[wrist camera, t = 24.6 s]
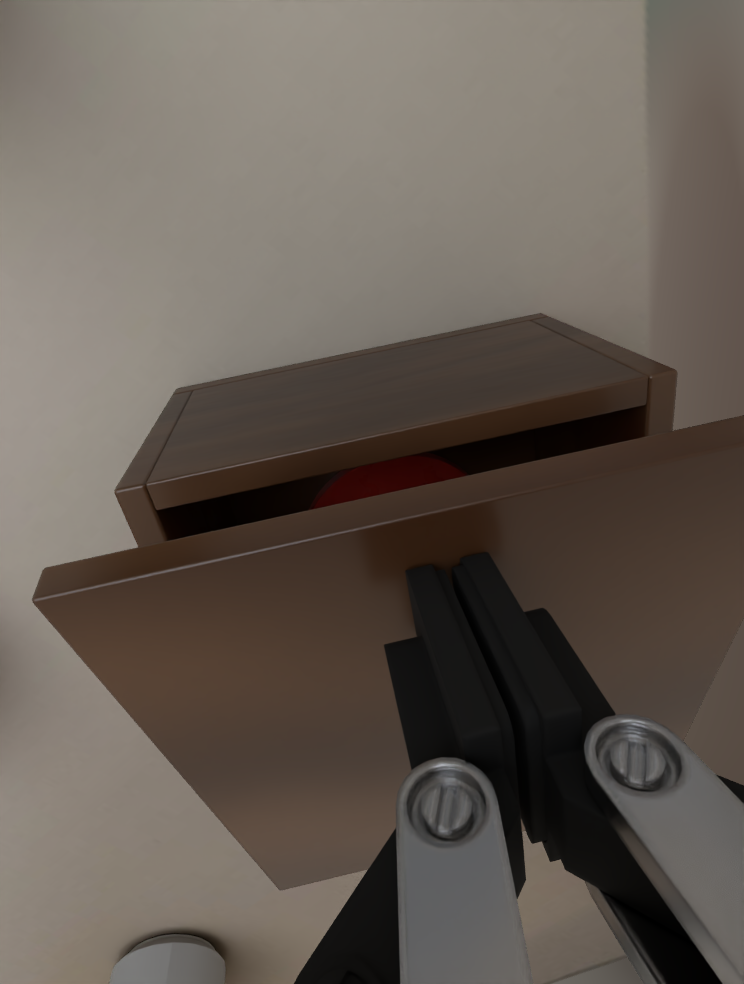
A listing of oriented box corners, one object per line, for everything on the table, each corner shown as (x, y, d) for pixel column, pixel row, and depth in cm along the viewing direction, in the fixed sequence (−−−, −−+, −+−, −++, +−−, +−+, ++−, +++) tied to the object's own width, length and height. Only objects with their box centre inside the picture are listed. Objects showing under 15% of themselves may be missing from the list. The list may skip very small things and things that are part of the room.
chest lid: (42, 566, 10) (29, 601, 10) (808, 399, 11) (842, 422, 10) (278, 867, 21) (279, 891, 21) (644, 778, 22) (655, 799, 21)
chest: (175, 388, 22) (111, 491, 14) (541, 312, 22) (679, 369, 14) (281, 691, 29) (279, 866, 22) (550, 629, 30) (643, 778, 22)
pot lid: (413, 409, 22) (452, 473, 17) (523, 537, 26) (584, 624, 21) (261, 536, 24) (253, 631, 19) (384, 640, 28) (407, 745, 22)
